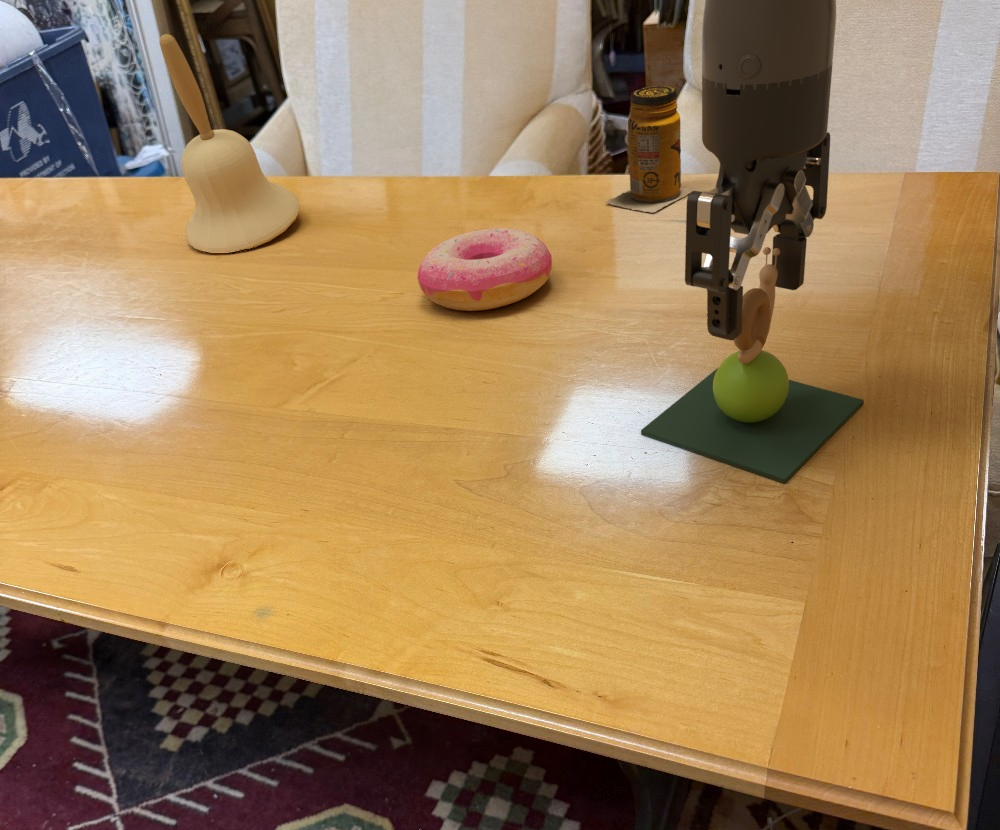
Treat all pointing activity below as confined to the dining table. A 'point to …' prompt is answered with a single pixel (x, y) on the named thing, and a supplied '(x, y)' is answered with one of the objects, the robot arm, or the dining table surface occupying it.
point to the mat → (755, 428)
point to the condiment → (653, 151)
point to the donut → (484, 269)
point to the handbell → (224, 177)
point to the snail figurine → (753, 359)
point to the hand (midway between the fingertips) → (756, 310)
